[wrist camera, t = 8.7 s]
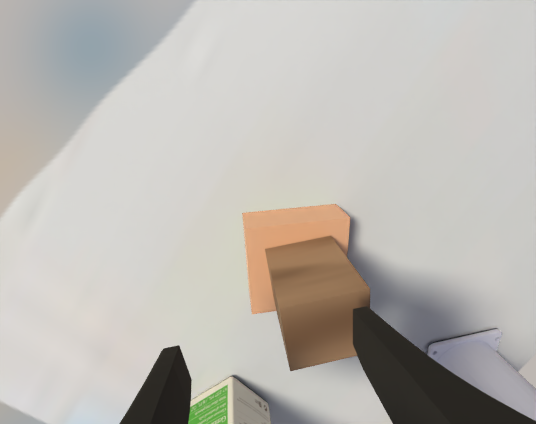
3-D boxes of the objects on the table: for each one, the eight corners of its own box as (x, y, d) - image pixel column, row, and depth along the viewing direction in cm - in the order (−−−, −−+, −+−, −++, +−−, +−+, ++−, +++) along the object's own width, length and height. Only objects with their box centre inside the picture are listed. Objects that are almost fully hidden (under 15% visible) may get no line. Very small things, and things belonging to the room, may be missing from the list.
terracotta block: (329, 277, 23) (343, 301, 21) (248, 288, 23) (252, 314, 20) (333, 201, 21) (350, 217, 18) (241, 210, 20) (244, 228, 17)
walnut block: (334, 288, 20) (369, 352, 15) (274, 301, 20) (290, 371, 15) (330, 235, 18) (369, 288, 13) (264, 248, 18) (279, 308, 13)
